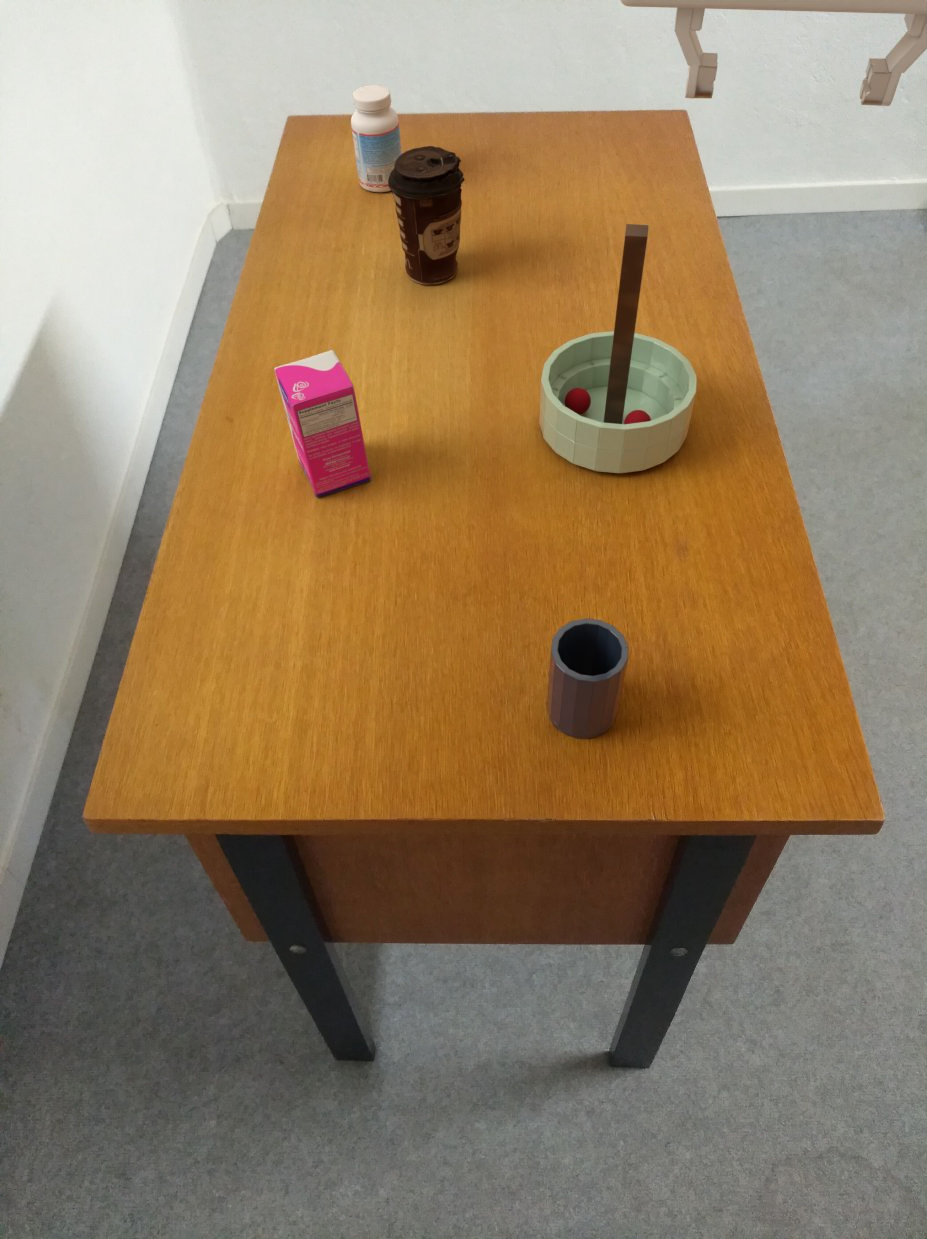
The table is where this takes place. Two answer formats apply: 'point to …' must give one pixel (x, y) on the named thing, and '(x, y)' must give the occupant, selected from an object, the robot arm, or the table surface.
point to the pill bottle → (375, 136)
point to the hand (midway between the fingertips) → (785, 97)
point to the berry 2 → (637, 417)
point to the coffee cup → (428, 211)
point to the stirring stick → (625, 320)
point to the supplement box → (324, 422)
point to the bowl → (652, 387)
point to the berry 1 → (578, 400)
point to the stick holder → (586, 677)
